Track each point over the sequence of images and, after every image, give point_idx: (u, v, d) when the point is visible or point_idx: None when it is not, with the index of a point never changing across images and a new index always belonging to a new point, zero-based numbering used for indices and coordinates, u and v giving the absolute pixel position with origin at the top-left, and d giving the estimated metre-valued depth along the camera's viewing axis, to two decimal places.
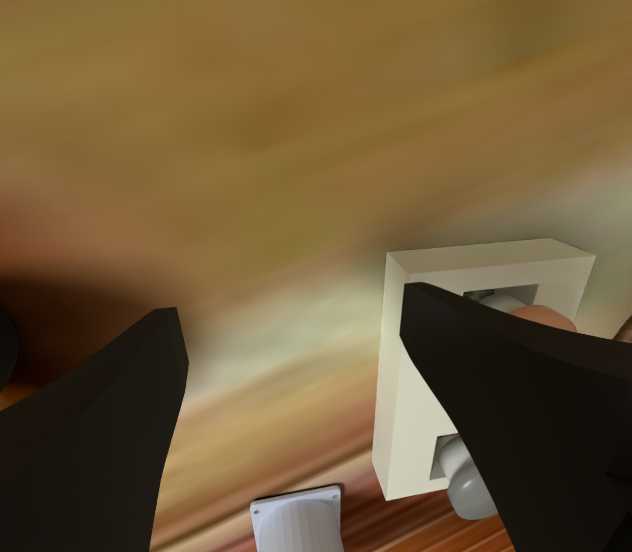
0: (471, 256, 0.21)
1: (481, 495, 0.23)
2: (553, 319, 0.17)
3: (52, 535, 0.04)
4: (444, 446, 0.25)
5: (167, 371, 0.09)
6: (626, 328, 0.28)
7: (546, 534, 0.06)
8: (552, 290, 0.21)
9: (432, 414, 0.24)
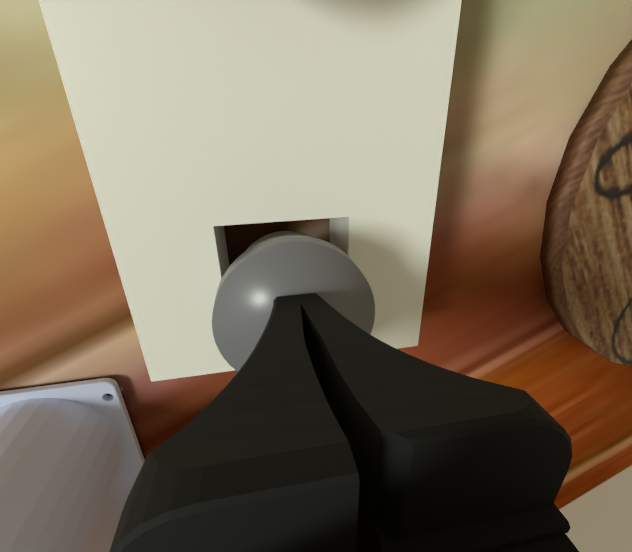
0: None
1: None
2: None
3: None
4: None
5: None
6: (609, 78, 0.16)
7: None
8: None
9: (180, 157, 0.11)
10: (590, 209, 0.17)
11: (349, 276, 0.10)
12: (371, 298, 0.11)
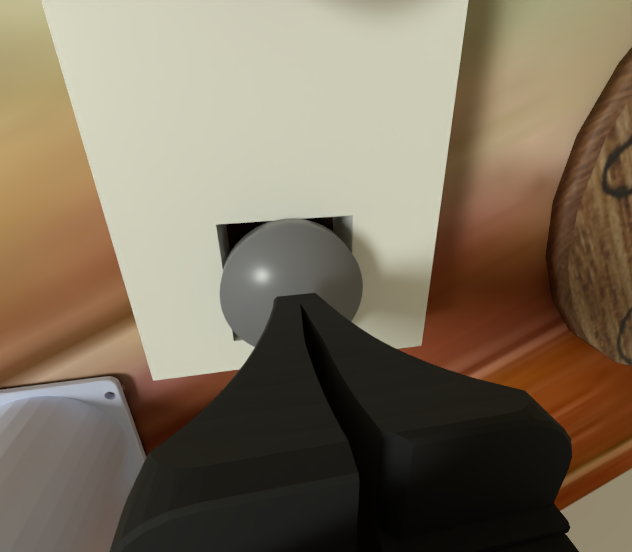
0: None
1: (274, 291, 0.12)
2: None
3: None
4: None
5: None
6: (618, 75, 0.15)
7: None
8: None
9: (183, 154, 0.11)
10: (597, 208, 0.17)
11: (339, 254, 0.12)
12: (359, 274, 0.12)
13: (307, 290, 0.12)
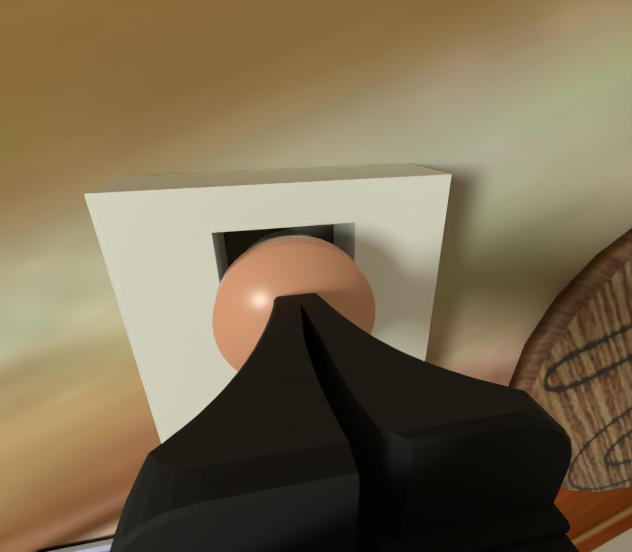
0: (245, 178, 0.12)
1: None
2: (312, 255, 0.10)
3: None
4: None
5: None
6: (553, 310, 0.20)
7: None
8: (385, 236, 0.12)
9: None
10: (542, 400, 0.21)
11: None
12: None
13: None
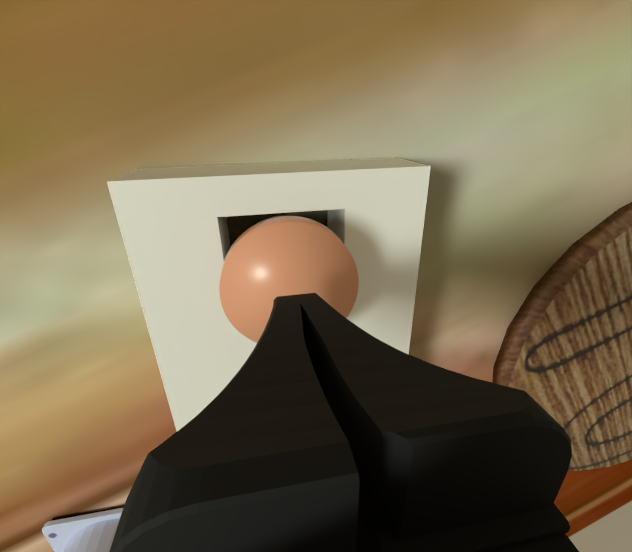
0: (246, 169, 0.14)
1: None
2: (303, 231, 0.12)
3: None
4: None
5: None
6: (534, 296, 0.21)
7: None
8: (371, 222, 0.14)
9: None
10: (524, 380, 0.23)
11: None
12: None
13: None
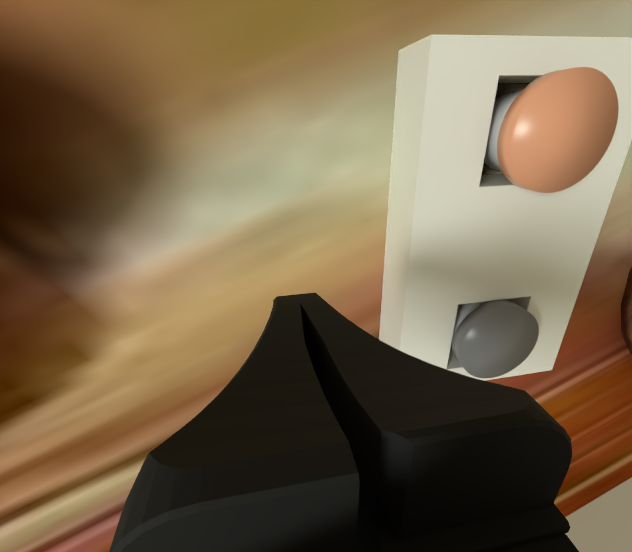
0: None
1: (490, 342, 0.20)
2: (591, 76, 0.14)
3: None
4: None
5: None
6: None
7: None
8: None
9: (453, 270, 0.19)
10: None
11: (530, 321, 0.20)
12: (537, 332, 0.21)
13: (507, 341, 0.21)
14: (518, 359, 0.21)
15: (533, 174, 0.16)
